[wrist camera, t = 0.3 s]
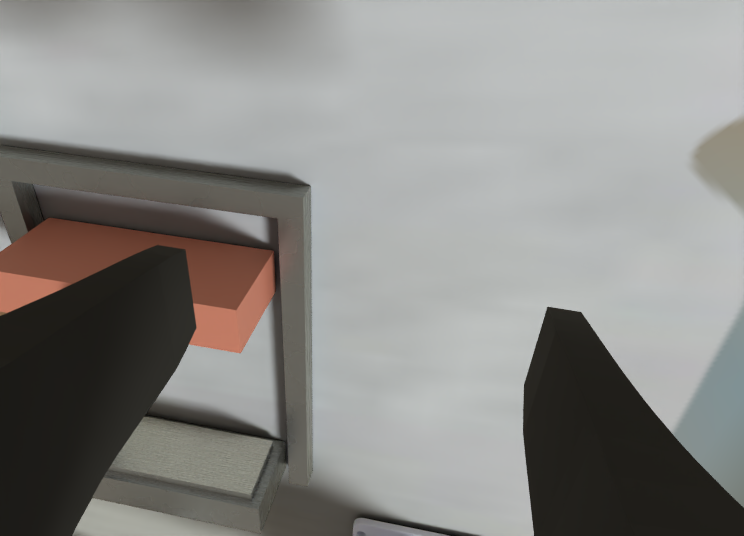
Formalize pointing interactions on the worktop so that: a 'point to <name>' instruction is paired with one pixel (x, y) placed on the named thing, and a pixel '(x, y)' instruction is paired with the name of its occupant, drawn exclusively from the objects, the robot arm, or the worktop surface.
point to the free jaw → (110, 245)
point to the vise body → (173, 438)
